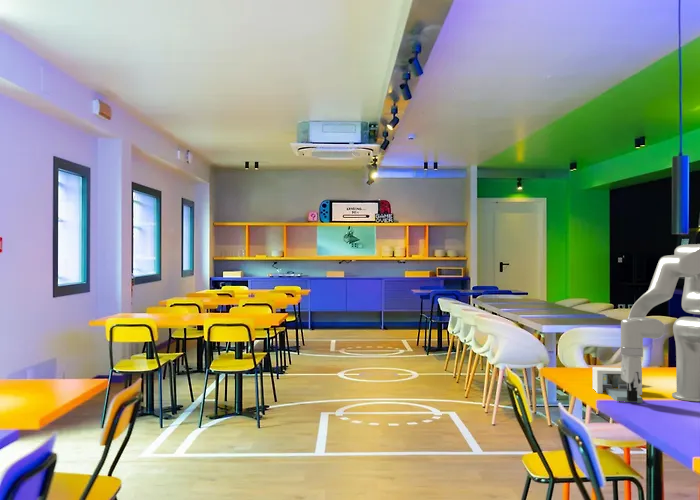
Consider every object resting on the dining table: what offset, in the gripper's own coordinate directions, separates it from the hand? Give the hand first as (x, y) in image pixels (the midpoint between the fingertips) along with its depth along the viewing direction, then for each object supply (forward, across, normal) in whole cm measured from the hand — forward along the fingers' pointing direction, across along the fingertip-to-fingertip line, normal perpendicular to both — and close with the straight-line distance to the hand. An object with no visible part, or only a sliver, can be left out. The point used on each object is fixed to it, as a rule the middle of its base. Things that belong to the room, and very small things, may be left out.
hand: (632, 400), depth 225 cm
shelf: (+1, -21, 0) cm, 21 cm away
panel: (+1, -10, 0) cm, 10 cm away
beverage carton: (+1, -35, +4) cm, 35 cm away
